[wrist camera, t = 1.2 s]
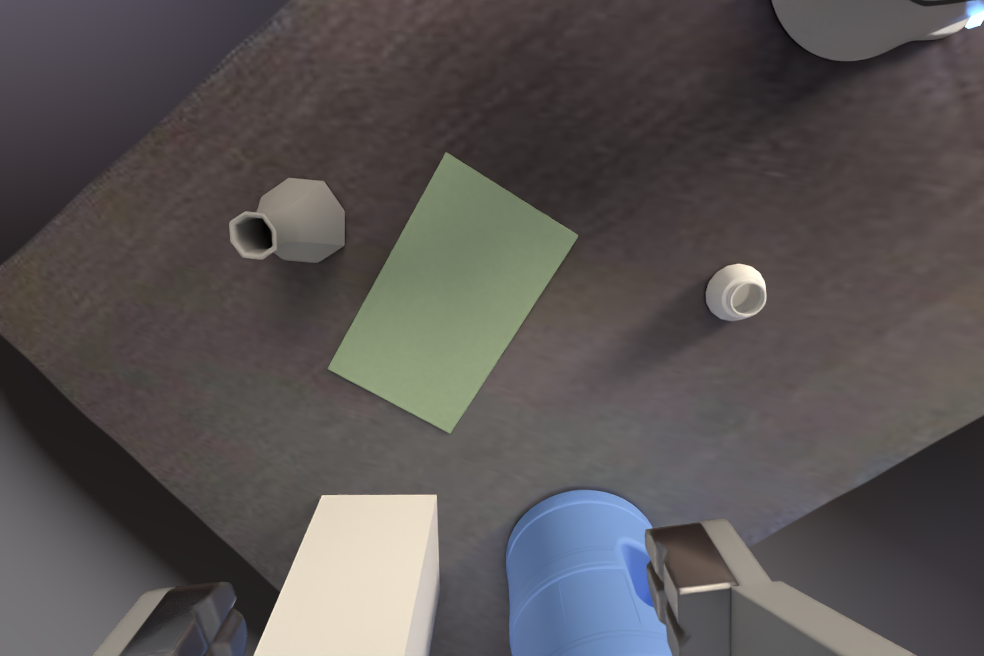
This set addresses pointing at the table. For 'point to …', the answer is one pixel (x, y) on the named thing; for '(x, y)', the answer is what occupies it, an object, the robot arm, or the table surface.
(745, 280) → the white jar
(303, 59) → the table surface
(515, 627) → the water jug
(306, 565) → the milk
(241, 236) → the flask
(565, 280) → the table surface
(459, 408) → the placemat
